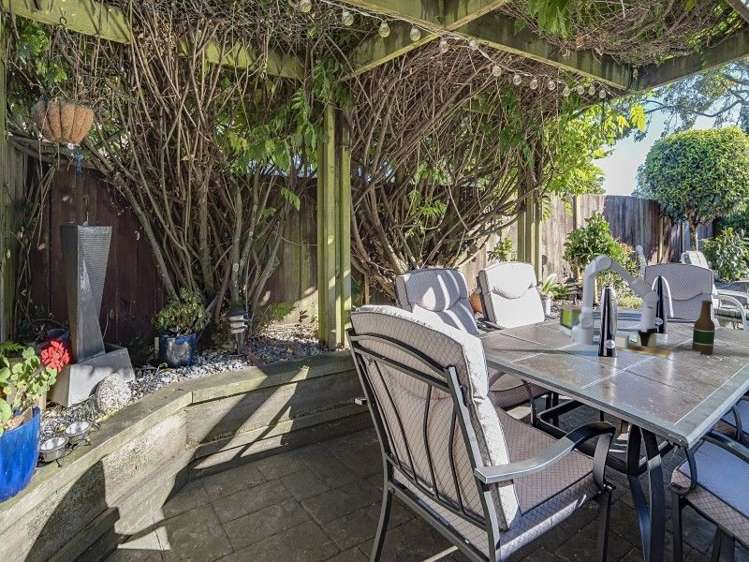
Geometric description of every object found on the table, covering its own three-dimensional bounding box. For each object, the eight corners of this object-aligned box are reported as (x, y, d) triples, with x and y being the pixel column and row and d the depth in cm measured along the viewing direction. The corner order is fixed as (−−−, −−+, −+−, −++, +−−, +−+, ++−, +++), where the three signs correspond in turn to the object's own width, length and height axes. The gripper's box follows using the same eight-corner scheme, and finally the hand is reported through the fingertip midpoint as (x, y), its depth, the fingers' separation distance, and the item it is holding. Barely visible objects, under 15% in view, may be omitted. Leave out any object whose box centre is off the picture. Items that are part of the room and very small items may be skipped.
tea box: (589, 337, 233) (591, 309, 232) (570, 337, 233) (571, 309, 232) (576, 330, 248) (578, 304, 247) (558, 330, 248) (560, 304, 247)
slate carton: (609, 347, 208) (610, 334, 207) (611, 345, 211) (612, 332, 210) (626, 350, 203) (627, 336, 202) (628, 348, 206) (629, 334, 206)
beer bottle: (690, 352, 204) (694, 300, 201) (693, 349, 210) (697, 298, 207) (711, 356, 199) (716, 302, 196) (713, 352, 205) (718, 300, 202)
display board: (604, 350, 208) (604, 344, 207) (615, 343, 221) (615, 337, 221) (665, 360, 192) (665, 354, 191) (672, 352, 205) (673, 346, 205)
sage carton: (636, 347, 209) (637, 333, 208) (638, 345, 212) (639, 331, 212) (653, 350, 204) (654, 336, 204) (655, 348, 208) (656, 334, 207)
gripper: (655, 319, 199) (652, 349, 200) (661, 314, 209) (659, 343, 211) (637, 317, 203) (634, 346, 205) (644, 312, 214) (642, 340, 216)
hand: (646, 344), depth 208 cm, fingers open, 7 cm apart
